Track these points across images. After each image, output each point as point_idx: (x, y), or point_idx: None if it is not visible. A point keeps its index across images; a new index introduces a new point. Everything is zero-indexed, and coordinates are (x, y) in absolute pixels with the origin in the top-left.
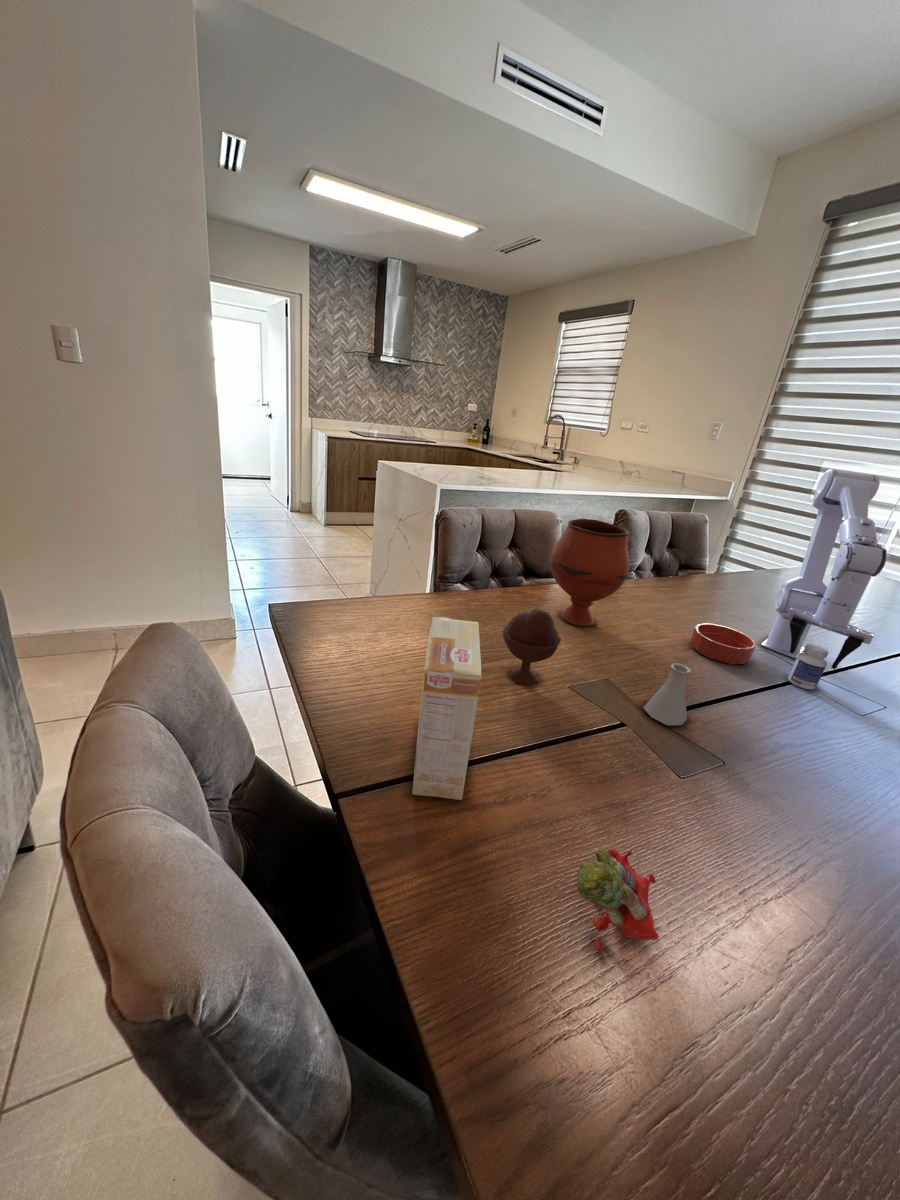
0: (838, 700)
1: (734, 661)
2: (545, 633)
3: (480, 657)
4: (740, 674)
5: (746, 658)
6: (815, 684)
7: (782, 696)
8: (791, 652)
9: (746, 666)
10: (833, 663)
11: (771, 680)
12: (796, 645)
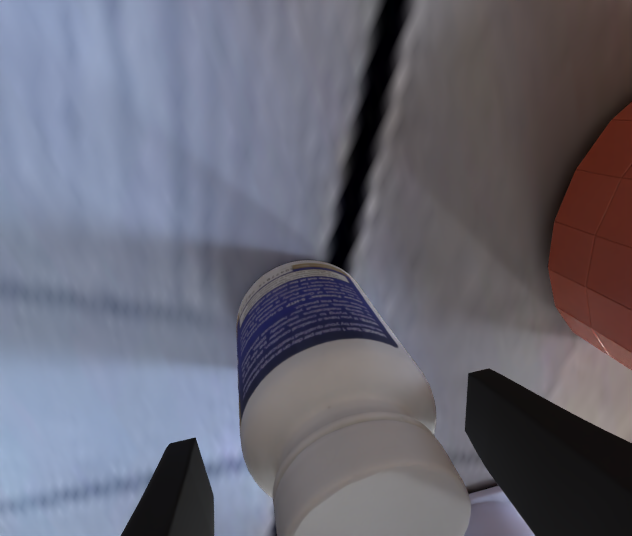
0: (114, 336)
1: (622, 122)
2: None
3: None
4: (544, 49)
5: (590, 206)
6: (238, 325)
7: (292, 6)
8: (481, 372)
9: (537, 205)
10: (184, 471)
11: (406, 178)
12: (512, 445)
